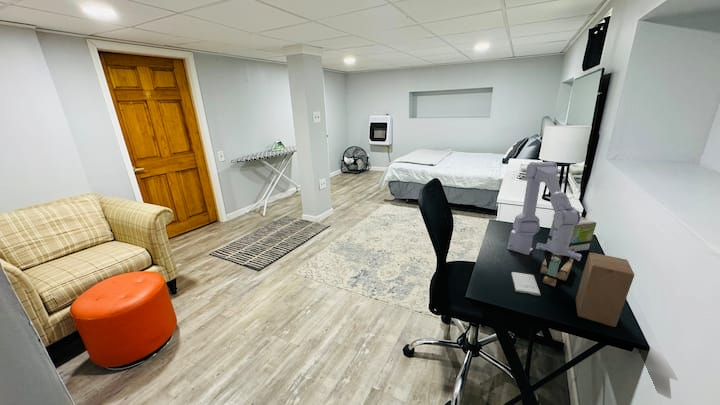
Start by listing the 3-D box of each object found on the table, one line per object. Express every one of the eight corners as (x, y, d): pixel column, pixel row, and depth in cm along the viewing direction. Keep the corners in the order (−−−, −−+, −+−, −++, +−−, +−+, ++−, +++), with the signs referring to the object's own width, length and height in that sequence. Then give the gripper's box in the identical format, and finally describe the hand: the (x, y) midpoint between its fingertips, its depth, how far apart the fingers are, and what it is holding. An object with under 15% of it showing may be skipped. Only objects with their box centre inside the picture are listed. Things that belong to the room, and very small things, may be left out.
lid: (541, 265, 119) (543, 259, 118) (548, 254, 127) (549, 248, 126) (567, 273, 113) (569, 267, 112) (572, 261, 121) (574, 255, 120)
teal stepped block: (546, 274, 114) (550, 260, 111) (549, 270, 116) (552, 256, 114) (555, 277, 112) (559, 262, 109) (557, 273, 114) (561, 258, 112)
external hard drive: (533, 278, 117) (539, 297, 106) (511, 274, 120) (515, 292, 109) (533, 275, 116) (540, 293, 105) (511, 271, 119) (516, 289, 108)
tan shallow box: (535, 279, 115) (537, 272, 114) (546, 261, 128) (548, 254, 127) (562, 289, 109) (564, 281, 108) (570, 268, 122) (572, 261, 121)
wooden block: (616, 328, 90) (635, 274, 84) (577, 316, 95) (592, 265, 89) (610, 309, 98) (627, 259, 92) (575, 299, 103) (589, 251, 97)
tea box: (564, 254, 133) (571, 225, 128) (546, 244, 143) (552, 217, 138) (589, 250, 137) (597, 221, 132) (570, 240, 146) (577, 214, 141)
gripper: (536, 237, 111) (530, 267, 115) (582, 249, 101) (573, 281, 106) (541, 231, 115) (534, 260, 120) (585, 242, 106) (576, 273, 111)
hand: (553, 269), depth 113 cm, fingers closed on teal stepped block, 3 cm apart
